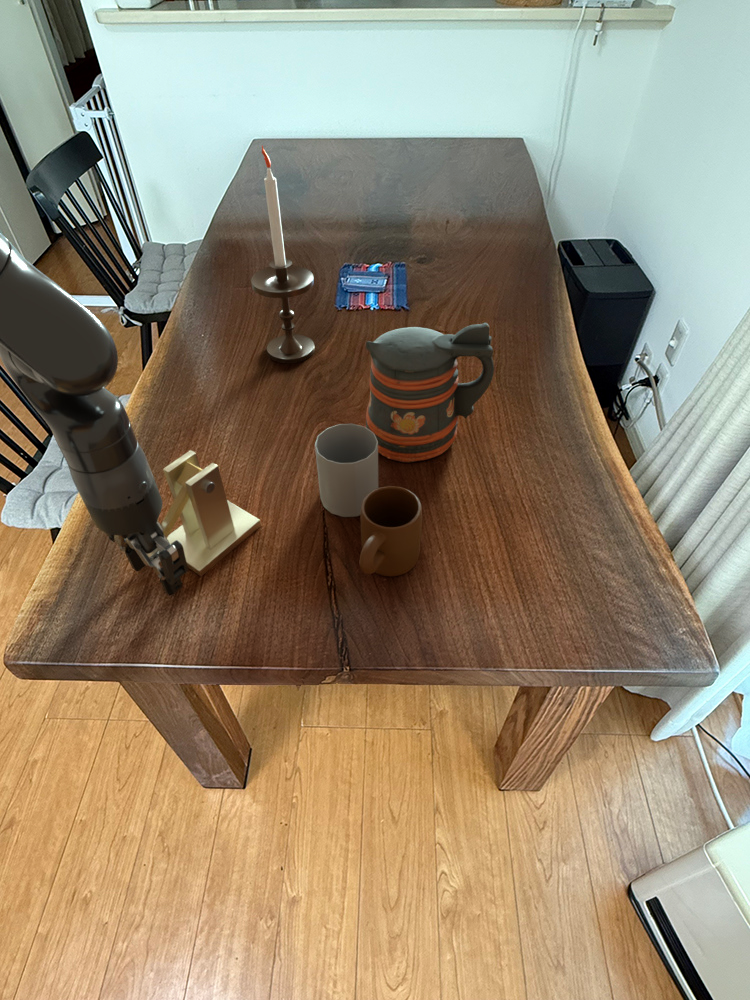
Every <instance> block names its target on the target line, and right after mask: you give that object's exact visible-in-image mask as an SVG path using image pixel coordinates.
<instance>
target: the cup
mask: <svg viewBox="0 0 750 1000" xmlns="http://www.w3.org/2000/svg"><path fill="white" fill-rule="evenodd" d="M314 451H315V458H316V459H315V460H316V461H315V462H316V468H317V469H316V470H317V479H318V487H319V488H318V489H319V498H320V501H321V505H322V507H323V508H325V510H327V512H329V513H330V514H331V515H336V516H339V517H342V518H355V517H359V516H361V505H362V502H363V500H364V498H365V497H366V496H367V495H368V494H369V493H370V492H371V491H373V490H375V489H377V488H379V453H378V441H377V438H376V436H375V434H374V433H373V432H372V431H370V430H369V429H367V428H366V427H365V426H363V425H360V424H356V423H339V424H336V425H332V426H330V427H326V428H325V429H324V430H323V431H322V432H321V433H319V434H318V435H317V436H316V440H315V442H314Z"/></svg>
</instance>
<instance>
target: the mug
mask: <svg viewBox="0 0 750 1000" xmlns="http://www.w3.org/2000/svg"><path fill="white" fill-rule="evenodd" d="M422 510H423V507H422V502H421V500H420V499H419V497H418V495H416V494H415V493H414V492H412V491H411V490H409V489H407V488H405V487H401V486H396V485H386V486H381V487H378V488H377V489H375V490H373V491H371V492H370V493H369V494H368V495H367V496H366V497H365V498H364V500H363V502H362V505H361V515H359V516H360V540H361V541H360V543H361V551H360V555H359V569H360V570H361V572H362V573H364V574H365V575H371V574H374V573H376V574H377V575H380V576H384V577H397V576H401V575H405V574H407V573H409V571H411V570H412V569H413V568H414V567H415V566H416V565H417V563H418V560H419V557H420V551H421V540H422V539H421V538H422V525H423V511H422Z"/></svg>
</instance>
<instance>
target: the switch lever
mask: <svg viewBox="0 0 750 1000" xmlns="http://www.w3.org/2000/svg"><path fill="white" fill-rule="evenodd" d="M203 469H204V468H201V467H200V468H199V467H197V466H195V465H193V464H191V463H187V464H186V466H185V468H184V469H183V471H182V473H181V475H180V476H179V478H178V480H177V483H179V484H180V485H182V488H181V490H180V491H179V493H178V495H177V497H176V498H175V500H174V499H173V502H172V503H171V506H170V508H169V509H168V511H167V513H166V514H165V516H164V518H163V520H162V522H161V523H160V525H161V527H162V528H163V533H164V535H165V537H166V538H167V537H168V535H170V534H171V533H172V531H173V528H174V527H175V525H176V523H177V521H178V520H179V519H180V514H181V512H182V511H183V509H184V507H185V505H186V504H187V502H188V500H189V498H190V496H189V493H188V490H187V487H186V484H185V482H187V481H188V480H189V479H191V478H192V477H194V476H195V475H196V474H198V473H199V472H200V471H202V470H203ZM158 550H159V548H156V549H155V550H154V551H153V552H151V553H149V554H147V555H148V556H149V557H151V556H152V555H153V554H155V553H156V552H157V551H158Z"/></svg>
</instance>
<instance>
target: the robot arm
mask: <svg viewBox="0 0 750 1000" xmlns="http://www.w3.org/2000/svg"><path fill="white" fill-rule="evenodd" d="M103 323H104V322H102V321H101V320H100V319H99V318H98V317H97V316H96V315H95V314H94V313H93V312H92V311H91V310H89V309H88V308H87V307H86V306H85V305H83V304H82V303H81V302H80V301H79V300H77V299H76V298H75V297H74V296H73V295H71V294H70V293H68V292H67V291H66V290H65V289H64V288H63V287H61V286H60V285H59V284H58V283H56V282H55V281H54V280H53V279H51V278H50V277H48V276H47V275H46V274H44V273H43V272H42V271H41V270H39V269H38V268H36V266H34V265H33V264H31V262H30V261H28V260H27V259H26V258H25V257H24V256H23V255H22V253H20V252H19V251H18V249H17V248H16V247H15V246H14V245H13V244H12V242H11V241H10V240H9V239H8V238H6V236H5V235H4V234H3V233H2V232H1V231H0V360H1V362H2V364H3V366H4V368H5V369H6V371H7V372H8V374H9V376H10V377H11V379H12V380H13V381H14V383H15V385H16V386H17V387H18V388H19V390H20V391H21V392H22V394H23V395H24V396H25V397H26V399H27V401H28V402H29V403H30V405H31V406H32V407H33V409H35V411H36V412H37V413H38V415H40V417H41V418H42V419H43V420H44V421H45V424H47V426H48V428H49V429H50V431H51V433H52V435H53V438H54V440H55V442H56V445H57V446H58V448H59V450H60V452H61V454H62V456H63V458H64V460H65V462H66V465H67V466H68V469H69V473H70V476H71V480H72V482H73V484H74V486H75V488H76V490H77V492H78V494H79V497H81V500H82V502H83V504H84V506H85V507H86V509H87V511H88V514H89V516H90V518H91V519H92V521H93V523H94V525H95V527H96V528H97V529H98V530H100V531H101V532H103V533H105V534H106V535H107V537H108V540H109V541H111V542H112V543H116V544H117V545H118V548H119V551H122V552H123V553H124V554H125V555H126V559H127V561H128V562H129V565H130V567H131V568H132V569H133V570H134V571H135V572H139V571H141V570H142V569H143V568H145V567H146V566H147V567H150V568H152V569H153V571H154V572H155V574H156V575H157V577H158V579H159V583H160V584H161V586H162V589H163V591H164V593H165V594H166V595H168V596H170V597H171V596H173V595H174V594H175V595H176V593H177V592H178V591H179V590H180V589H182V588H183V585H184V584H183V581H182V579H181V578H182V577H183V576H184V575H186V574H187V573H188V572H189V568H188V566H187V562H186V558H185V554H184V549H183V546H182V544H181V543H180V542H179V541H177V540H176V541H174V542H173V543H172V544H170V543H169V541H168V540H167V538H166V537H165V535H164V533H163V528H162V527H161V523H160V522H159V521H158V520H159V517H160V514H161V512H162V510H163V498H162V496H161V493H160V490H159V488H158V485H157V483H156V480H155V477H154V474H153V472H152V468H151V466H150V463H149V461H148V459H147V456H146V454H145V452H144V450H143V448H142V447H141V445H140V444H139V441H138V439H137V436H136V433H135V431H134V428H133V425H132V423H131V420H130V418H129V415H128V413H127V410H126V408H125V407H124V404H123V403H122V402H121V400H120V399H119V398H118V397H117V396H116V395H115V394H114V393H112V392H111V391H110V390H108V389H107V386H108V385H110V383H111V382H112V381H113V379H114V378H115V376H116V373H117V370H118V364H119V354H118V349H117V345H116V343H115V340H114V338H113V336H112V334H111V333H110V331H109V330H108V328H107V327H106V325H104V324H103ZM156 548H159V550H158V551H157V552H156V553H155V554H153V555H152V556H151V557H149V556H148V555H147V554H149V553H151V552H153V551H154V550H155V549H156ZM160 564H161V565H160Z"/></svg>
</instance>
